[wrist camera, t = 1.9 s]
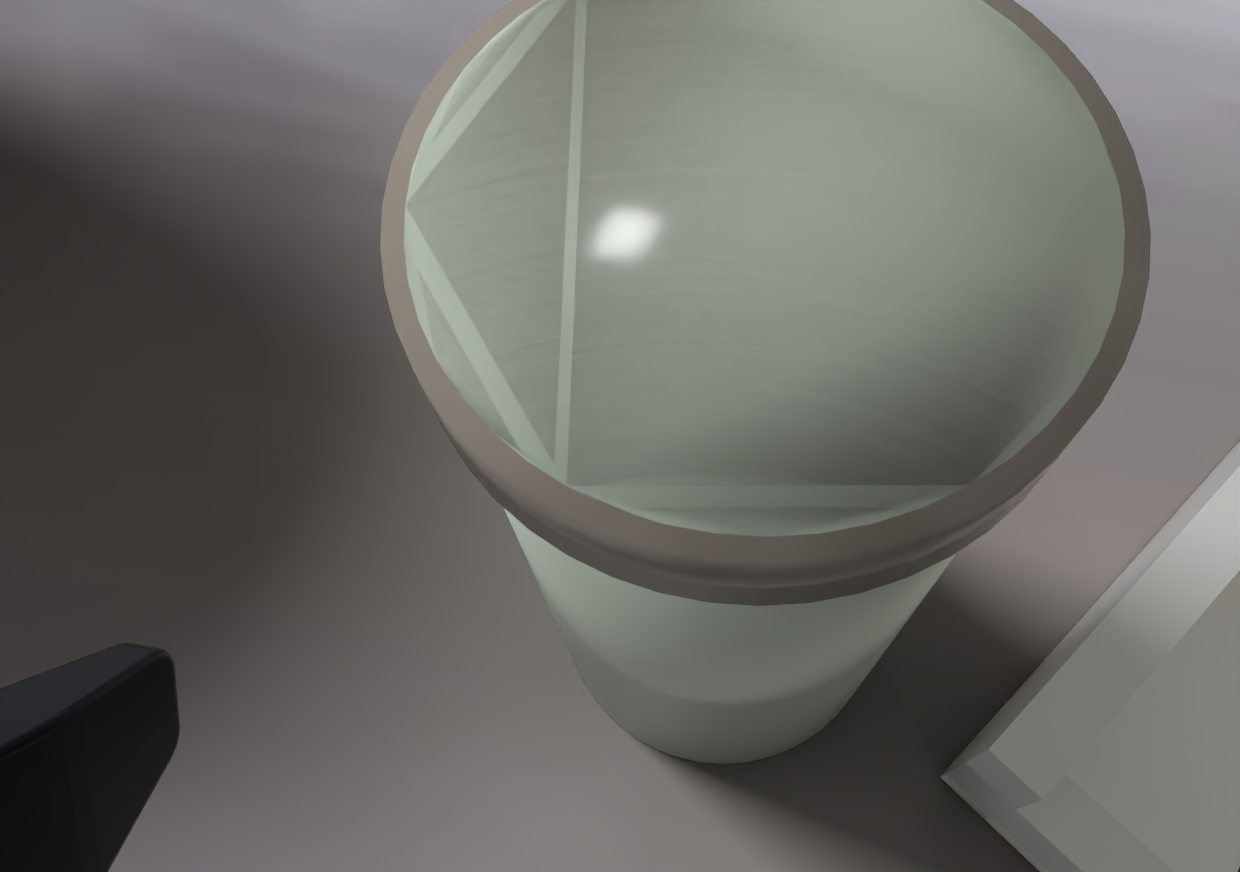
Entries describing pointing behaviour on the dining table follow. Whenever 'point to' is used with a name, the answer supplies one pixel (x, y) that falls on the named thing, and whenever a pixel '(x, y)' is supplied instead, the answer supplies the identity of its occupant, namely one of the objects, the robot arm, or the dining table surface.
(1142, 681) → the tray
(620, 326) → the sage jar
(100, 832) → the robot arm
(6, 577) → the dining table surface
